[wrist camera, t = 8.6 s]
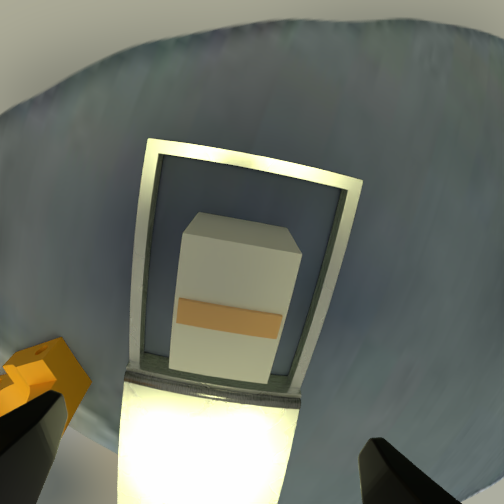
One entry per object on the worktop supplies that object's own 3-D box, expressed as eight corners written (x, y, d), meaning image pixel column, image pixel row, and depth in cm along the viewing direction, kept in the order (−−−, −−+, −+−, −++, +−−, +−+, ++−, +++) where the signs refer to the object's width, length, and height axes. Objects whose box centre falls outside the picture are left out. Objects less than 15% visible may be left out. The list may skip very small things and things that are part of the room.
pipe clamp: (62, 335, 20) (20, 388, 14) (92, 380, 21) (61, 437, 15) (-12, 360, 21) (-47, 398, 15) (13, 395, 22) (-17, 436, 16)
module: (286, 227, 18) (303, 255, 13) (261, 333, 20) (267, 386, 15) (199, 211, 18) (181, 234, 13) (184, 320, 20) (168, 370, 15)
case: (355, 178, 17) (448, 205, 9) (257, 476, 25) (261, 555, 16) (154, 138, 16) (72, 129, 8) (138, 458, 24) (118, 535, 15)
